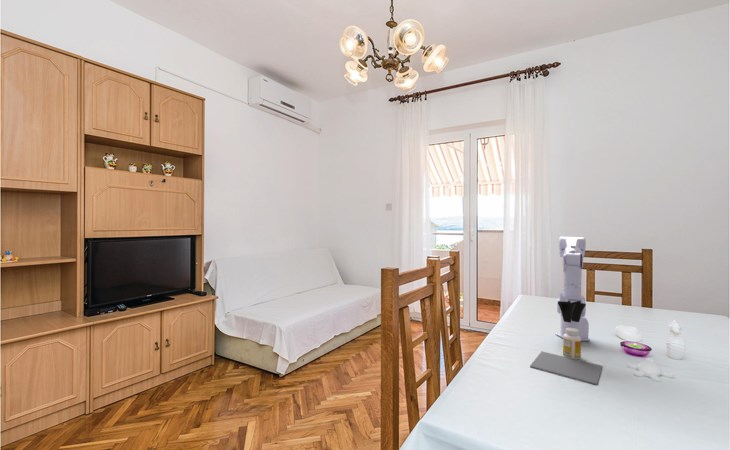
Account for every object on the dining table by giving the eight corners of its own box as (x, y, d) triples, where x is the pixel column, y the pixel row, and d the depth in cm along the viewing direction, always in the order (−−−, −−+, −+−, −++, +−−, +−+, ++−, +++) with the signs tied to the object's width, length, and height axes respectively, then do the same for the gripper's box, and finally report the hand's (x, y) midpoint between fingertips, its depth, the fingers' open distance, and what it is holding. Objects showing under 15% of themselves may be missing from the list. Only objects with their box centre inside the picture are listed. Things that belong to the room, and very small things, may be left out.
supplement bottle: (579, 355, 119) (580, 328, 119) (582, 360, 114) (582, 332, 114) (562, 352, 121) (562, 326, 121) (563, 358, 116) (564, 330, 116)
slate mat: (541, 352, 121) (541, 351, 121) (602, 366, 109) (602, 365, 109) (530, 367, 109) (530, 365, 109) (596, 385, 97) (596, 383, 97)
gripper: (576, 285, 117) (575, 324, 115) (591, 286, 126) (591, 323, 124) (555, 283, 123) (554, 320, 121) (571, 285, 131) (570, 320, 130)
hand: (571, 321), depth 123 cm, fingers open, 7 cm apart
